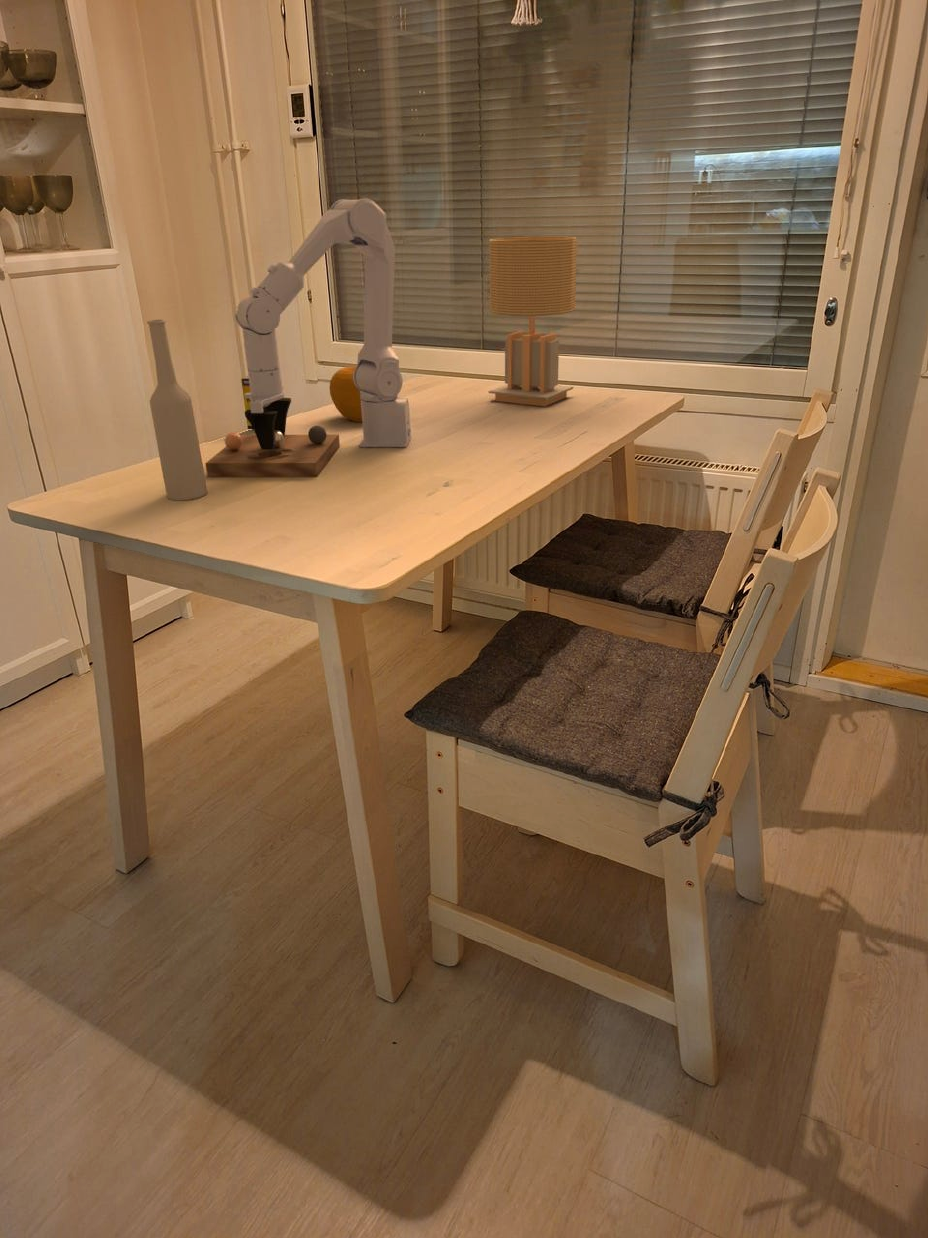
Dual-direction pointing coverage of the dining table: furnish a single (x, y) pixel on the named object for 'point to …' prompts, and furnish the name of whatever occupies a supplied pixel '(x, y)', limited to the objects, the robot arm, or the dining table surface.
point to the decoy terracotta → (233, 441)
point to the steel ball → (278, 438)
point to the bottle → (174, 425)
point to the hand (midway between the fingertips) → (273, 443)
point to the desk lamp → (532, 311)
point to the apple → (346, 394)
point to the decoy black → (317, 434)
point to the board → (274, 458)
